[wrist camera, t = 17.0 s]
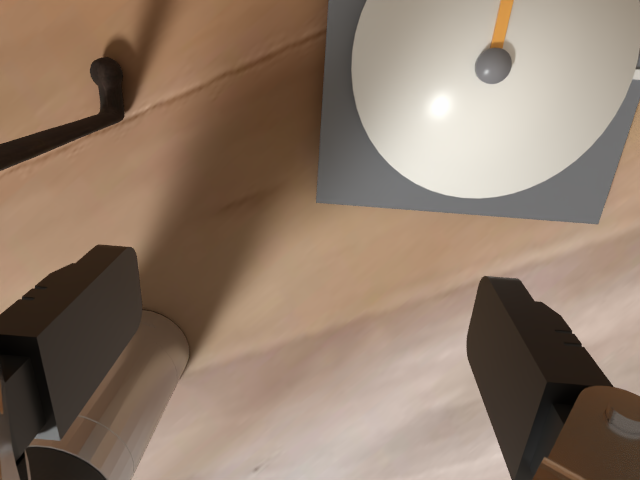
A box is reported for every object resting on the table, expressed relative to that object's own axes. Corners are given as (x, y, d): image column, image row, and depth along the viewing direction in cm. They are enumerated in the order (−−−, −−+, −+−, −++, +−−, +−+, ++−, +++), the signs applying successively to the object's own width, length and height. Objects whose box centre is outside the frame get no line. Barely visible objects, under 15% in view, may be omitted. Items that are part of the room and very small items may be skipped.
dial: (578, 204, 39) (635, 247, 31) (338, 179, 39) (335, 216, 31) (675, -84, 31) (786, -122, 23) (370, -113, 31) (377, -160, 23)
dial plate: (589, 217, 41) (599, 225, 40) (317, 196, 42) (316, 203, 40) (697, -117, 31) (715, -125, 30) (337, -138, 32) (337, -147, 30)
